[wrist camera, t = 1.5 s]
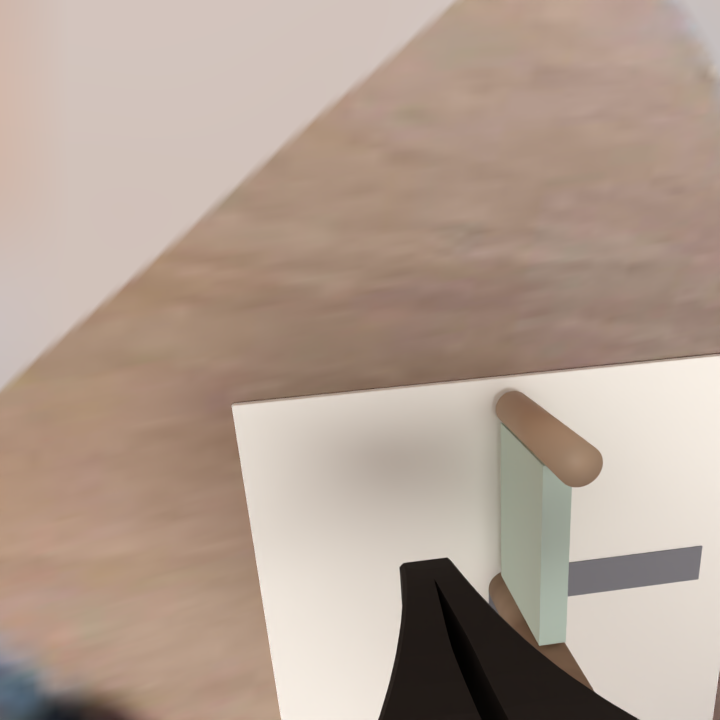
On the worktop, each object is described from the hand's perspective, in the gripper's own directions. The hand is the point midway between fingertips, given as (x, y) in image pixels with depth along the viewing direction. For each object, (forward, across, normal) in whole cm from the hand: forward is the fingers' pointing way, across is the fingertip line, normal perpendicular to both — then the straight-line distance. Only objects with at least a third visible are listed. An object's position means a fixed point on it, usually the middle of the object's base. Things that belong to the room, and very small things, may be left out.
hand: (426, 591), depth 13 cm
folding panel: (+7, -5, +1) cm, 8 cm away
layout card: (+7, -5, +7) cm, 11 cm away
